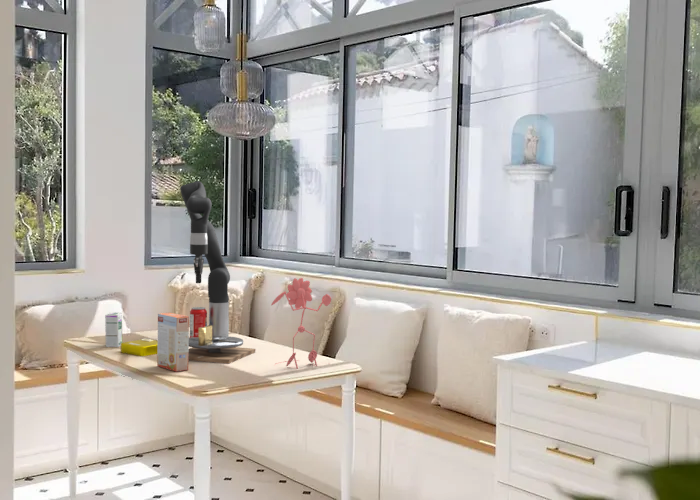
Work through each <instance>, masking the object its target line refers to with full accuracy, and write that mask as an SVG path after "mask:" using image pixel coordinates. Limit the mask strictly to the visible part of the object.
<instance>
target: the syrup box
mask: <svg viewBox="0 0 700 500" xmlns="http://www.w3.org/2000/svg"><path fill="white" fill-rule="evenodd" d="M104 317H105V320H104V321H105V325H104V326H105V328H104V329H105V347H107V348H119V347H121V343H123V313H122V312H109V313H106V314H105V316H104Z"/></svg>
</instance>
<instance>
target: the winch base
mask: <svg viewBox="0 0 700 500" xmlns="http://www.w3.org/2000/svg"><path fill="white" fill-rule="evenodd" d="M255 353H256V348H250V347H249V348H248V347H240V346H238V347H233V348H224V349H202V348H193V347H190V348H189V353H188V361H193V362H206V363H219V364H232V363H233V362H237V361H239V360H241V359H243V358H245V357H248V356H250V355H252V354H255ZM238 359H239V360H238ZM231 362H232V363H231Z"/></svg>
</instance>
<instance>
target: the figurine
mask: <svg viewBox="0 0 700 500" xmlns="http://www.w3.org/2000/svg"><path fill="white" fill-rule="evenodd" d="M310 284H311V281H310V280H304V278H303V277H300V278H299V279H297V277H295V278H294V279H292V284H287V290H288V292H287V291H283V292H281V293H280V294H278V295H277V296H276V297H275V298H274V300H273V301H272V302H271V305H270V306H273V305H275V304H276V303H278V302H279V301H280V300H281V299H282V298H283V297H284V295H285V298H286V299H287V301H288V305H289V306H290V308H291V311H293V312H295V311H298V310H302V313H301V319H300V325H299V326H298V328H297V331H296V333H295V334H294V335H293V337H292V355H291V356H290V357H289V359H288V360H287V361H285V360H284V361H281V362H276V363H275V364H274V365H278V364H281V363H285V362H286V367H288V366H290V364H291V363H292V362H293V361H294V364H295V368H296V370H297V369H299V367H298V364H297V361H298V362H300V360H299V359H298V360H297V359H296V355H297V352H295V347H294V346H295V337H296V336H297V334H299V333H300V334H301V333H304V332H306V333H309V334H311V335H313V339H312V340H313V341H312V342H313V343H312V350H311V351H309V353H308V357H307V359H308V361H309V362H310V363H314V365H315V367H317V366H318V364H317V360H316V359H317V357H318V352H317V350H314V349H315V337H316V335H315V334H314V333H313V332H310V331H308V330H306V329H305V326H303V318H304V314H305V310H306V309H307V310H309V311H310V310H311V311H314V312H318V311H319V310H320V308H321V307H322V305H324V306H325V307H328V306H330V304H331V302H332V296H330V295H329V294H328V293H326V294H325V295H324V294H323V296H322V297H321V303H320V304H319V306H318V308H317V309H314V308H311V307H307V302H312V301H313V296H312V292H313V291H312V288H310ZM293 306H294V307H293ZM328 365H330V363H329V362H328Z"/></svg>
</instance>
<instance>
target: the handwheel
mask: <svg viewBox="0 0 700 500" xmlns="http://www.w3.org/2000/svg"><path fill="white" fill-rule="evenodd" d="M242 345H244V340H243V338H240V337H236V336H230V335H229V336H228V335H224V336H212V325H209V324H208V325H207V326H205V327H201V328H199V337H191V338H190V337H189V347H190V348H192V347H193V348H202V349H224V348H233V347H241V346H242Z"/></svg>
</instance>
